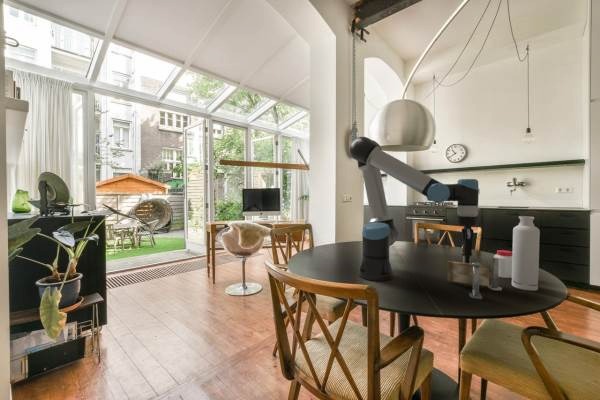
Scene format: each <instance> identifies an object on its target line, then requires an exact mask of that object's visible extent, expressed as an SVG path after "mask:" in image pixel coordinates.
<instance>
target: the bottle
mask: <svg viewBox="0 0 600 400" xmlns="http://www.w3.org/2000/svg"><path fill="white" fill-rule="evenodd" d="M518 219H519V223H518V225H515V226H514V227H512V228H513V229H512V251H511V252H512V278H511V286H512V287H514V288H516V289H520V290H525V291H533V292H534V291H538V289H539V285H538V283H539V267H540V263H539V262H540V260H539V259H540V235H541V234H540V233H541V232H540V231H541V230H540V228H539V227H537V226H535V224H534V222H533V221H534V220H535V217H534V216H527V215H526V216H525V215H524V216H523V215H519V216H518Z"/></svg>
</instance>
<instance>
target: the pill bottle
mask: <svg viewBox="0 0 600 400" xmlns="http://www.w3.org/2000/svg"><path fill="white" fill-rule="evenodd" d="M493 258H498V259H499V274H498V278H504V279H512V251H511V250H505V249H504V250H503V249H499V250H498V249H497V250H496V254H494V255H493Z"/></svg>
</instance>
